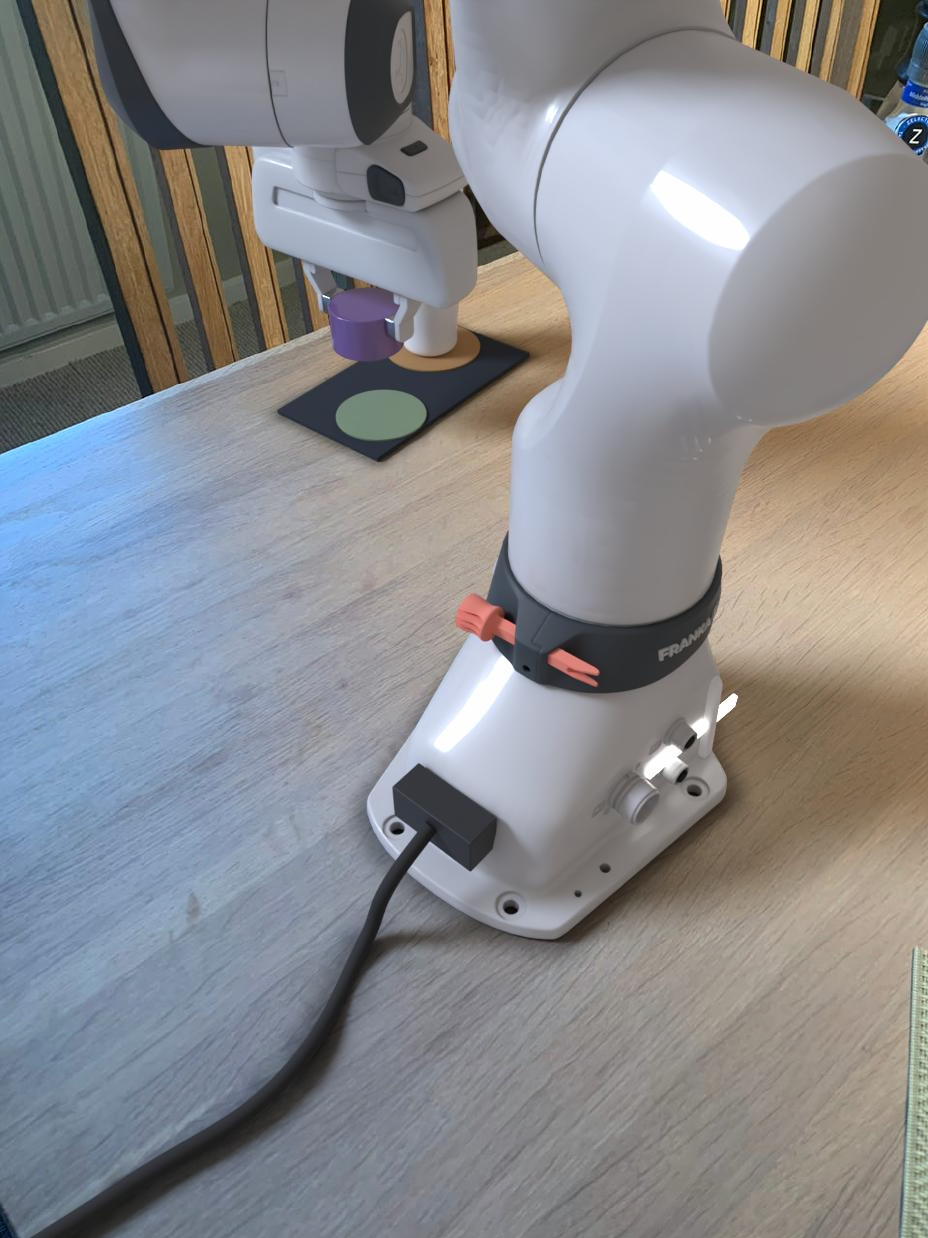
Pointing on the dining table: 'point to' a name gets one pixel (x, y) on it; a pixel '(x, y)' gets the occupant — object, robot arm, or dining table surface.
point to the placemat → (400, 393)
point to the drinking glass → (433, 330)
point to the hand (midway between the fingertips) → (366, 324)
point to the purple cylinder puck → (362, 324)
